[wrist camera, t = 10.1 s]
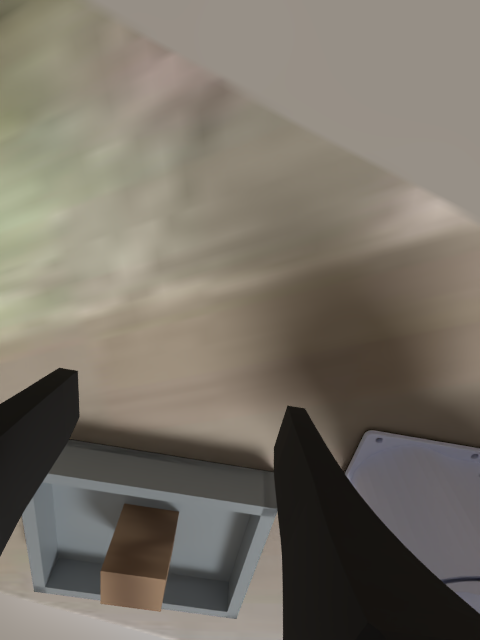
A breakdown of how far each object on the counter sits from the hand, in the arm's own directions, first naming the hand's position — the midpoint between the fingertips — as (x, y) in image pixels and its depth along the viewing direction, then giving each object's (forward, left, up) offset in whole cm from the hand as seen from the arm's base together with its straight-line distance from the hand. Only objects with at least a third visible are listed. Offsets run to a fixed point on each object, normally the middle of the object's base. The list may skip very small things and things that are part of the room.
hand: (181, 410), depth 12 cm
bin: (+2, +22, -9) cm, 24 cm away
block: (+2, +21, -9) cm, 23 cm away
